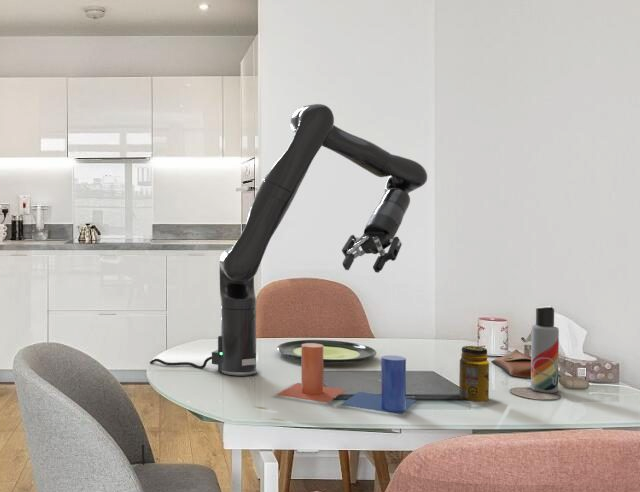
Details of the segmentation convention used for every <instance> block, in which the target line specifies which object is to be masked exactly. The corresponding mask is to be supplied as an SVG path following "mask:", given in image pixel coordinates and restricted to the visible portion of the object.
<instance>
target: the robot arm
mask: <svg viewBox="0 0 640 492" xmlns="http://www.w3.org/2000/svg"><path fill="white" fill-rule="evenodd" d="M290 127H291V130H292V131H293V133H294V135H293V137H292V140H291V142H290V144H289V146H288V148H287V149H286V150H285V151H284V153H282V155H281V156H280V157H279V158H278V160H277V161H276V162H275V163H274V164H273V165H272V167H271V168H270V169H269V171H267V173H266V175H265V177H264V178H263V179H262V182H261V184H260V186H259V187H258V189H257V191H256V194H255V196H254V198H253V201H252V205H251V207H250V211H249V213H248V217H247V221H246V223H245V226H244V228H243V230H242V232H241V234H240V235H239V237H238V239H237V241H236V242H235V243H234V245H233V246H231V247H228V248H227V249H225V251H223V253H222V254H221V256H220V259H219V296H220V297H219V298H220V335H218V336H217V349H216V350H213V351H212V352H211V356H209V357H207V358H206V359H205V360H204V361H203V364H202V365H199V364H196V363H193V362H190V361H189V362H188V361H180V362H167V361H165V360H162V359H159V358H153V359H154V360H153V359H152V360H151V361H150V362H149V364H154V363H155V362H158V363H160V364H162V365H165V366H171V367H173V366H191V367H194V368H195V369H200V370H201V369H204V368H206V366H207V364H208V362H209V361H211V364H212V365H217V373H221V374H224V375H228V376H234V377H246V376H252V375H255V374H257V296H256V292H255V277H256V275H257V274H258V273H257V272H258V270H259V269H260V266H261V263H262V260H263V258H264V254H265V253H266V250H267V247H268V246H269V243H270V241H271V239H272V238H273V235H274V234H275V233H276V231H277V229H278V227H279V226H280V224H281V222H282V221H283V219H284V217H285V215H286V214H287V212H288V210H289V209H290V207H291V205H292V203H293V201H294V200H295V197H296V195H297V193H298V191H299V188H300V187H301V185H302V182H303V180H304V179H305V177H306V175H307V173H308V172H309V171H308V170H309V168H310V166H311V164H312V162H313V161H314V158H315V157H316V155H317V154H318V153H319V151H320V149H321V148H322V147H323V148H326V149H328V150H330V151H332V152H334V153H336V154H338V155H340V157H341V156H342V157H343V158H344V159H347V160H348V161H350V162H352V163H353V164H355V165H357V166H359V167H361V169H363V170H365V171H367V172H369V173H370V174H372V175H374V176H376V177H378V178H385V177H388V178H387V179H386V182H385V187H384V192H383V195H382V197H381V199H380V201H379V203H378V204H377V206H376V207H375V208H374V210H373V211H372V214H371V215H370V217H369V219H368V222H367V223H366V225H365V227H364V228H363V229H364V230H363V234H362V235H361V236H360V237H356V236H355V234H351V235H350V236H349V237H348V239H347V240H346V242H345V243H344V246H343V247H342V249H341V252H342V254H343V256H344V259H343V261H342V267H343V268H344V270H345V271H350V268H351V267H352V265H353V263H354V261H355V259H357V258H358V257H362V256H364V255H365V254H367V255H368V254H373V255H378V254H379V255H378V256H377V258H376V260H375V262H374V263H373V266H372V269H373V271H374V273H380V272H381V271H382V270H383V269H384V268H385V267H384V266H385V264H386V263H388V262H389V261H391V262H392V261H396V260H397V257H398V255H399V253H400V250H401V247H402V245H403V244H402V242H401V239H400V238H399V236H396V235H397V232H398V230H399V228H400V226H401V224H402V222H403V219H404V217H405V214H406V212H407V210H408V209H409V206H410V204H411V196H410V194H409V193H411V192H414V191H416V190H417V189H419V188H421V187H423V186H425V184H426V183H427V181H428V173H427V170H426V169H425V167H424V166H423V165H422V164H420V163H419V162H418V161H415V160H413V159H410V158H407V157H403V156H401V155H396V154H393V153H390V152H389V151H387V150H385V149H384V148H382V147H381V146H379V145H377V144H375V143H374V142H372V141H369V140H367V139H365V138H362V137H359V136H357V135H355V134H352V133H350V132H347V131H345V130H343V129H342V128H340V127H338V126H336V125H335V116H334V112H333V111H332V109H331V108H330V107H329V106H327V105H325V104H322V103H313V104H308V105H304V106H301V107H299V108H297V109H296V110H295V111H294V112H293V113H292V115H291V118H290ZM388 247H389V248H388ZM360 248H361V249H362V250H360ZM387 248H388V251H387V252H386V250H385V249H387ZM145 461H146V460H145V444H141V465H142V464H143V465H144V464H145V463H146V462H145ZM145 465H146V464H145Z"/></svg>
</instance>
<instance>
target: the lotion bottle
mask: <svg viewBox="0 0 640 492" xmlns="http://www.w3.org/2000/svg"><path fill="white" fill-rule="evenodd" d="M559 334H560V331H559V327H557V326H555V309H554V308H553V306H546V307H545V306H544V307H536V308H535V325H531V334H530V341H531V342H530V344H531V345H530V349H531V350H530V358H531V378H530V388H531V390H533V391H536V392H539V393H546V394H553V393H557V392H558V391H559V356H560V355H559V353H560V352H559V351H560V350H559V348H560V347H559V345H560V344H559V343H560V341H559V340H560V337H559V336H560V335H559Z"/></svg>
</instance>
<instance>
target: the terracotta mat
mask: <svg viewBox="0 0 640 492" xmlns="http://www.w3.org/2000/svg"><path fill="white" fill-rule="evenodd" d="M345 391H346V389H345V388H343V389H342V388H336V387H328V386H323V394H320V395H309V394H305V393H302V392H301V382H296V383H295V384H293V385H291V386H290V387H288V388H286V389H284V390H282V391H281V392H279V393H277V394H276V396H281V397H288V398H294V399H301V400H308V401H315V402H320V403H325V404H327V403H329V402H330V401H332V400H334V399H335V398H336V397H338V396H339V395H341V394H343V393H344V392H345Z"/></svg>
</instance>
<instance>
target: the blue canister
mask: <svg viewBox="0 0 640 492" xmlns="http://www.w3.org/2000/svg"><path fill="white" fill-rule="evenodd" d="M380 395H381V408H382V409H383V410H385V411H389V412H404V411H405V410H406V399H407V358H406V357H405V356H401V355H392V354H390V355H389V354H387V355H382V356H381V357H380ZM406 411H407V410H406ZM406 411H405V412H406ZM389 412H388V413H389ZM405 412H404V413H405Z"/></svg>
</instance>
